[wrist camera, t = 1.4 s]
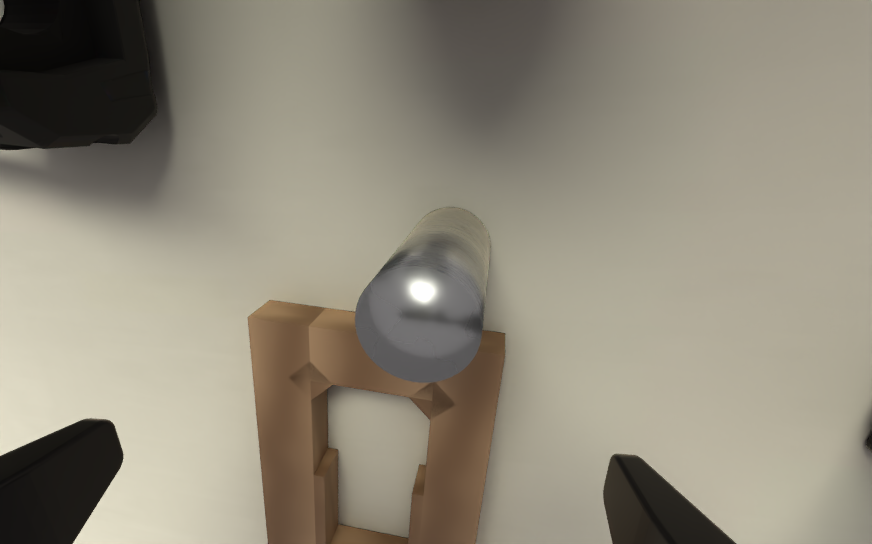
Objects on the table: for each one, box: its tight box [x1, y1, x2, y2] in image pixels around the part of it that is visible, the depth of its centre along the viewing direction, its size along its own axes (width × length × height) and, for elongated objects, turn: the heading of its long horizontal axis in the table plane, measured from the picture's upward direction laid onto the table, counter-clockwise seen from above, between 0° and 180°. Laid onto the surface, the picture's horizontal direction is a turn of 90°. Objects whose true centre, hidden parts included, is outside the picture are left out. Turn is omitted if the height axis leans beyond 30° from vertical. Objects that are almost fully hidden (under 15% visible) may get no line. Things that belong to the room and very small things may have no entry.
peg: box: [355, 207, 491, 383], centre depth 15 cm, size 4×4×8 cm
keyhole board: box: [248, 300, 505, 544], centre depth 23 cm, size 12×20×2 cm, turn 175°
